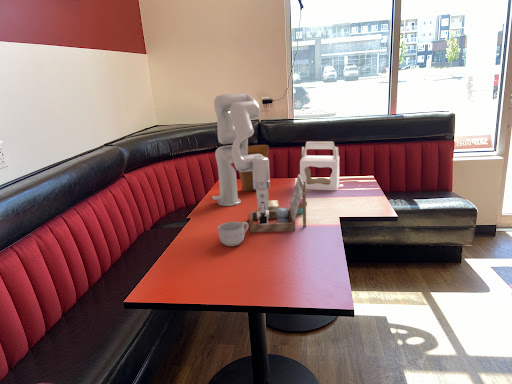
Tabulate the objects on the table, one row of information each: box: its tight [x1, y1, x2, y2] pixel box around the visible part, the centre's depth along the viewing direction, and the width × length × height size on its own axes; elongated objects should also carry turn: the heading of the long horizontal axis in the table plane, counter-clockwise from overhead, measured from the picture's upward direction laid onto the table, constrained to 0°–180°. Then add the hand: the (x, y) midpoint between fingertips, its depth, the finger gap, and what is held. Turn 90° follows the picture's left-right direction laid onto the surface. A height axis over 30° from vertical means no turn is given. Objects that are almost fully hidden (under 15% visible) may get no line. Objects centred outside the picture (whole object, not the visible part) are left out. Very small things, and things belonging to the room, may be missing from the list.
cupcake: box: [289, 197, 308, 215], centre depth 191 cm, size 9×8×12 cm
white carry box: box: [299, 140, 340, 191], centre depth 232 cm, size 22×13×28 cm, turn 72°
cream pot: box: [256, 209, 269, 224], centre depth 178 cm, size 6×6×7 cm
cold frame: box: [249, 173, 307, 234], centre depth 176 cm, size 25×18×21 cm
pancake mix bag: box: [238, 144, 269, 192], centre depth 231 cm, size 7×19×28 cm, turn 82°
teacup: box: [217, 221, 250, 247], centre depth 159 cm, size 14×11×8 cm
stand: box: [269, 199, 280, 211], centre depth 193 cm, size 10×10×5 cm
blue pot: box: [276, 207, 289, 223], centre depth 179 cm, size 6×6×7 cm
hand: (263, 221), depth 178 cm, fingers closed on cream pot, 5 cm apart
